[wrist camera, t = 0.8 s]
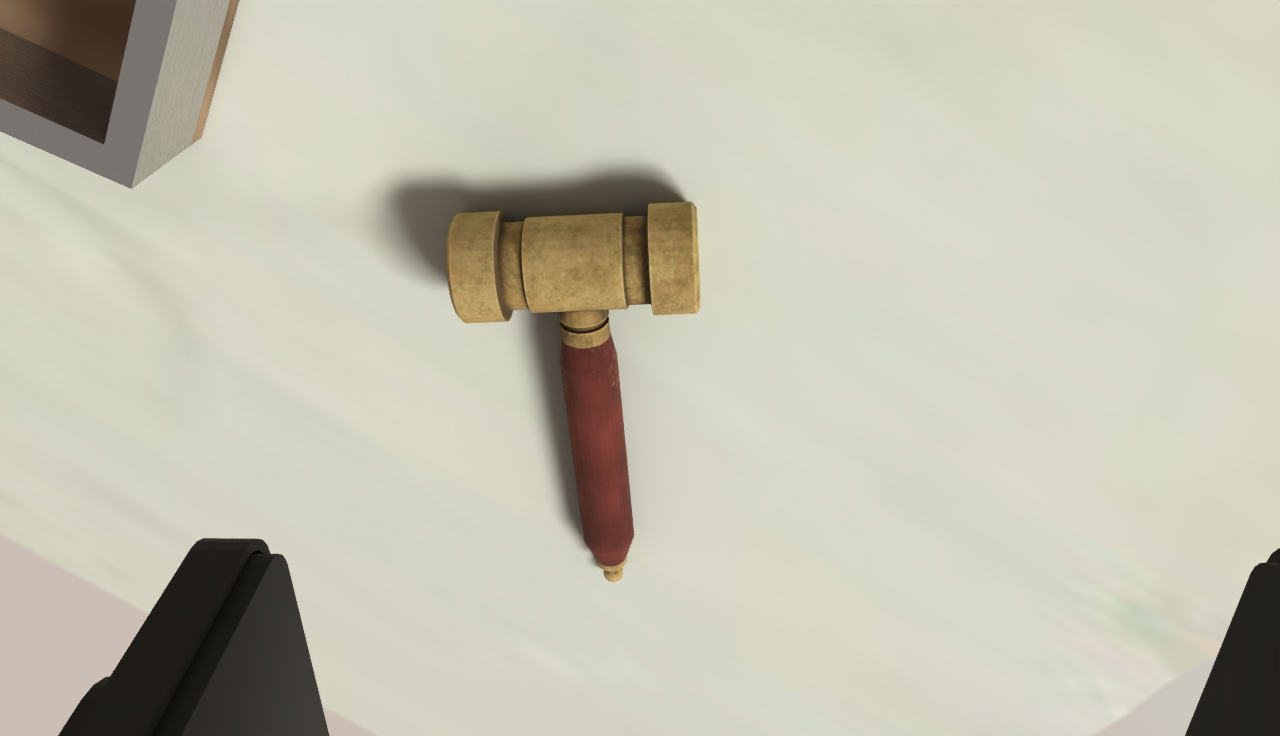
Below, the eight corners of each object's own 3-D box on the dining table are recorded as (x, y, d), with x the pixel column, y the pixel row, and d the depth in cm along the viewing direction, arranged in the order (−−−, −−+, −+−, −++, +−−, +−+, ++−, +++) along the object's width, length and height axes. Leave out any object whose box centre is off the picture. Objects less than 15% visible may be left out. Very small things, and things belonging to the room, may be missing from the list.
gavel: (711, 610, 49) (513, 614, 49) (708, 544, 53) (524, 549, 53) (697, 232, 37) (437, 245, 38) (695, 183, 41) (459, 194, 41)
